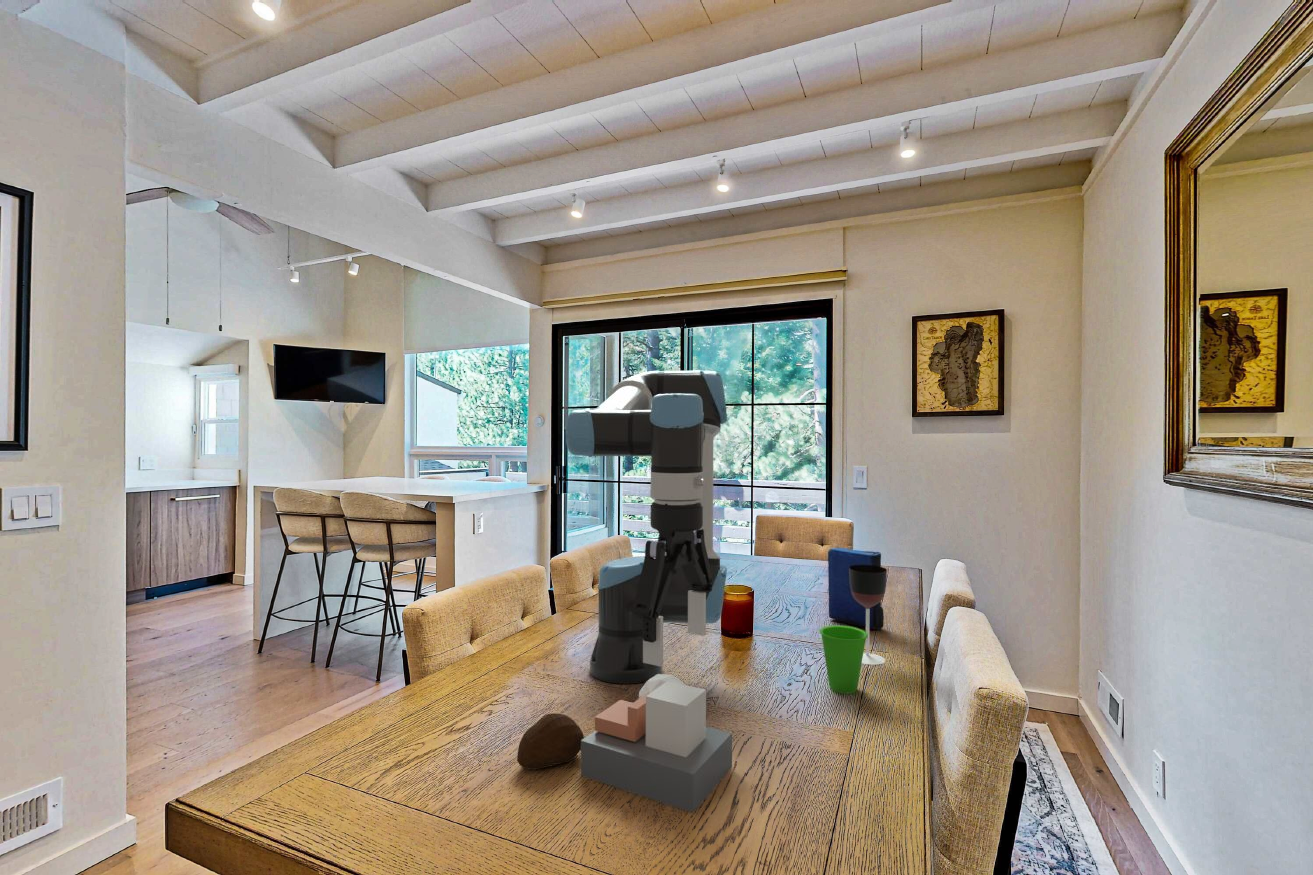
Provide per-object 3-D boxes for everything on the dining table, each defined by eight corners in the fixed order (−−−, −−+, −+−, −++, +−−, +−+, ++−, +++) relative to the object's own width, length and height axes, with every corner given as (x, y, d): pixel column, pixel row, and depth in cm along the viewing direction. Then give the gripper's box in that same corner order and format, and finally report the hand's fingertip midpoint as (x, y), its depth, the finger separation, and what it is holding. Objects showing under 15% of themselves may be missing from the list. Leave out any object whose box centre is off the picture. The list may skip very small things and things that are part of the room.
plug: (685, 786, 83) (686, 705, 84) (645, 774, 87) (645, 696, 87) (705, 765, 89) (705, 689, 89) (667, 754, 92) (667, 680, 92)
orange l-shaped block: (594, 730, 91) (594, 699, 91) (620, 712, 97) (620, 683, 97) (635, 741, 87) (635, 710, 87) (659, 722, 93) (659, 692, 93)
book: (886, 628, 158) (886, 551, 158) (875, 633, 155) (875, 553, 155) (836, 616, 169) (837, 544, 169) (826, 620, 165) (826, 546, 165)
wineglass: (847, 662, 134) (847, 570, 134) (850, 649, 142) (850, 563, 142) (886, 667, 131) (886, 573, 131) (887, 654, 139) (887, 566, 139)
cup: (870, 699, 114) (871, 640, 114) (820, 695, 116) (820, 637, 116) (864, 681, 123) (864, 626, 123) (818, 677, 125) (818, 623, 125)
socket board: (580, 775, 88) (580, 740, 88) (628, 737, 99) (628, 706, 99) (693, 813, 79) (693, 774, 79) (731, 766, 91) (732, 732, 91)
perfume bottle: (620, 716, 103) (670, 751, 94) (637, 662, 104) (688, 692, 95) (653, 716, 109) (704, 749, 100) (669, 665, 110) (721, 693, 101)
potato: (507, 762, 92) (508, 715, 92) (569, 742, 98) (569, 698, 98) (528, 783, 86) (528, 733, 86) (592, 760, 92) (592, 714, 92)
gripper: (656, 513, 75) (656, 684, 76) (734, 494, 97) (733, 627, 97) (606, 509, 79) (606, 672, 79) (691, 491, 101) (691, 619, 101)
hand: (676, 647), depth 88 cm, fingers open, 13 cm apart
